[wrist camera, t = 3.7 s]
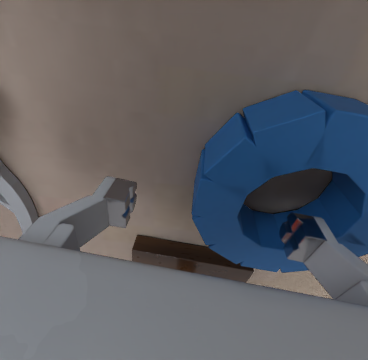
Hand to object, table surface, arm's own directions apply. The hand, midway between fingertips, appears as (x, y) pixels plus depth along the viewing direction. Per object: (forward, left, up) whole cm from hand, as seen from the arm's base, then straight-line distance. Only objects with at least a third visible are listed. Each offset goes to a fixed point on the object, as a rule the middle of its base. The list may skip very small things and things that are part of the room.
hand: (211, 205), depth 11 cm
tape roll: (-1, +4, -3) cm, 5 cm away
